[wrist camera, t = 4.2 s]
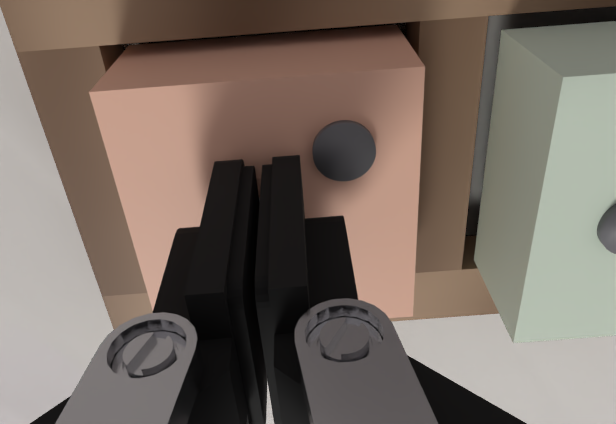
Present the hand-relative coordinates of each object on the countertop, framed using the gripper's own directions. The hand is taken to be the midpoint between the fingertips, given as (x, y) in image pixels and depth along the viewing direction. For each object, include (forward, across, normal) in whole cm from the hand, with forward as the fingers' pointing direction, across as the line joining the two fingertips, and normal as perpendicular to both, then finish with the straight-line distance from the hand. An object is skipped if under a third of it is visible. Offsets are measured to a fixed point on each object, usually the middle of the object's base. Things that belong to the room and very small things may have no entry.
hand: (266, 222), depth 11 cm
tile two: (+2, -8, 0) cm, 8 cm away
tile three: (+3, 0, 0) cm, 3 cm away
